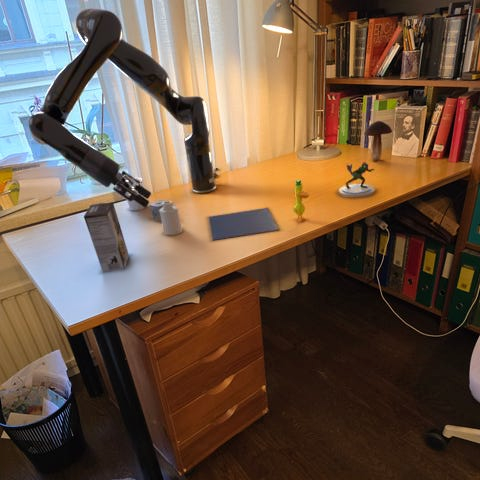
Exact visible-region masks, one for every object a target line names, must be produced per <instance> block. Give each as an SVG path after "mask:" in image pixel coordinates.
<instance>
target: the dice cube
mask: <svg viewBox="0 0 480 480" xmlns="http://www.w3.org/2000/svg"><path fill="white" fill-rule="evenodd" d="M165 201H166V200H162V199H160V200H158V201H155V202H152V203H149V204H148V206H149V210H150V213H151V218H152V219H153V220H156V221H159V222H162V221H161V216H160V212H159V210H160V209H161V208H163V206H162V203H163V202H165Z"/></svg>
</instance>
